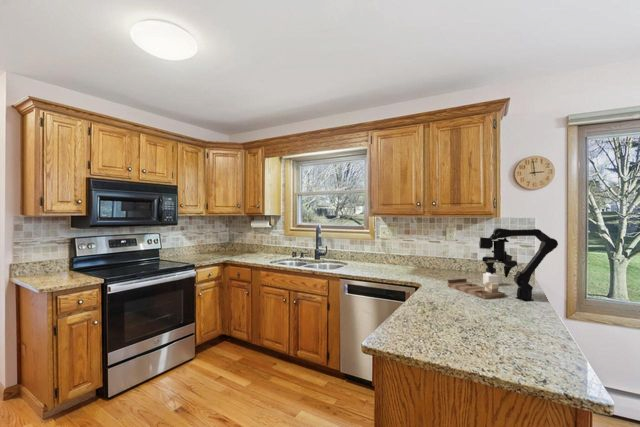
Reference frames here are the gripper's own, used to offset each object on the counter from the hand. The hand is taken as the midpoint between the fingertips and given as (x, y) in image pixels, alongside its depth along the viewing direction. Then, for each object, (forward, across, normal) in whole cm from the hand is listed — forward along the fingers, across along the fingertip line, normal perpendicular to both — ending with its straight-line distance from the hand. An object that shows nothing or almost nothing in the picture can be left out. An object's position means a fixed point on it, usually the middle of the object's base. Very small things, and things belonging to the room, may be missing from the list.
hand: (498, 275), depth 177 cm
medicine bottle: (+13, +23, -21) cm, 34 cm away
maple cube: (+10, +4, +1) cm, 11 cm away
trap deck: (+12, +14, +4) cm, 19 cm away
